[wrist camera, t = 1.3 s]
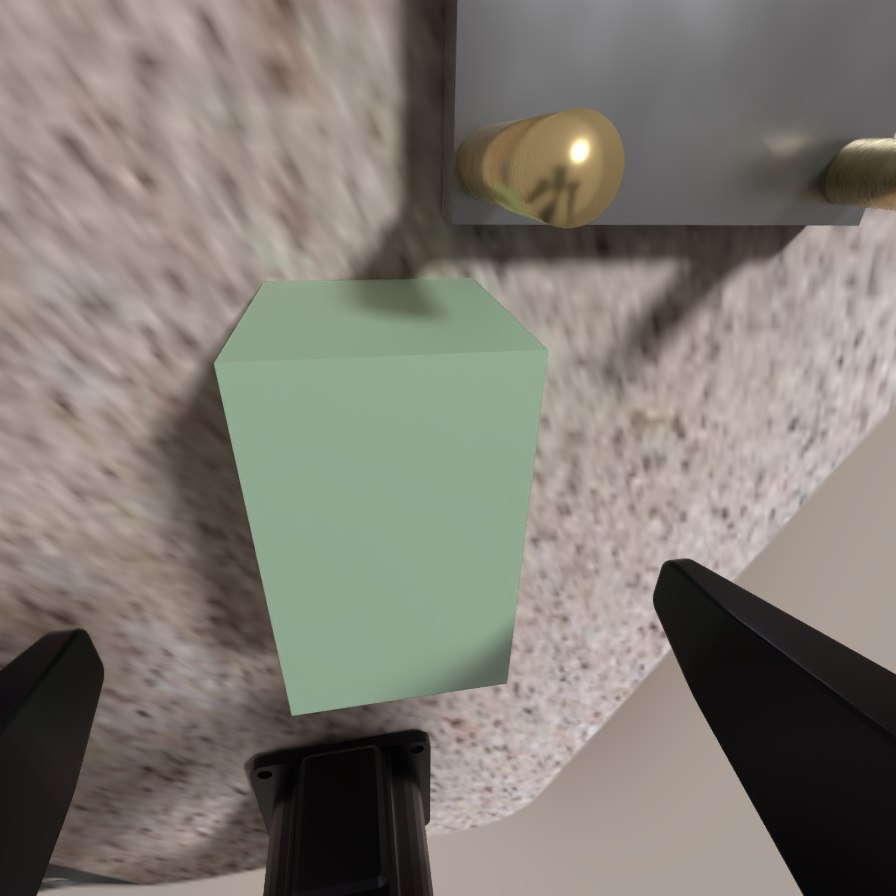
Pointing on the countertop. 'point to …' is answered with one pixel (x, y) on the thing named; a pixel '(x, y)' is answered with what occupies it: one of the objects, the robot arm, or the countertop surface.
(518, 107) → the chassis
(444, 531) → the light green block
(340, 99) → the countertop surface
